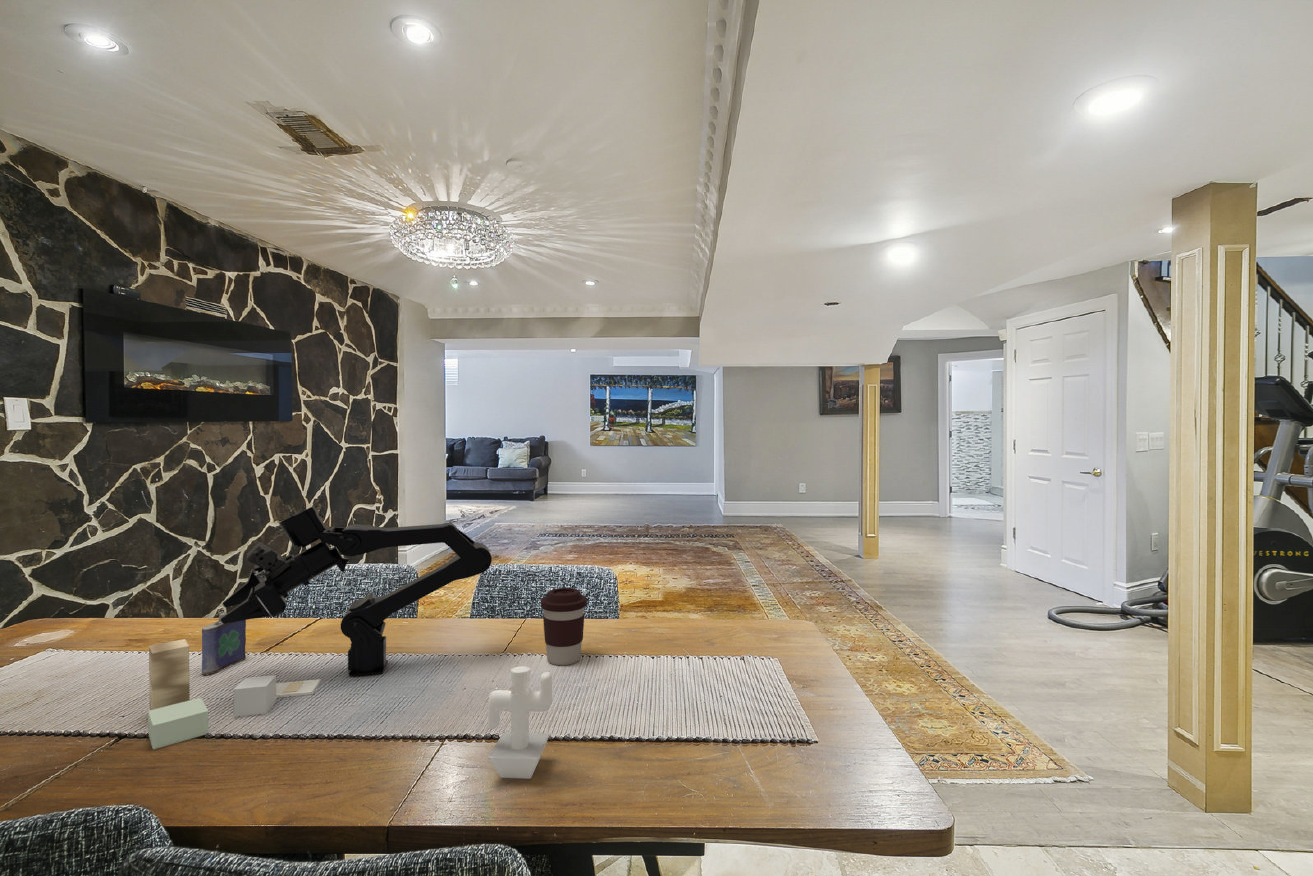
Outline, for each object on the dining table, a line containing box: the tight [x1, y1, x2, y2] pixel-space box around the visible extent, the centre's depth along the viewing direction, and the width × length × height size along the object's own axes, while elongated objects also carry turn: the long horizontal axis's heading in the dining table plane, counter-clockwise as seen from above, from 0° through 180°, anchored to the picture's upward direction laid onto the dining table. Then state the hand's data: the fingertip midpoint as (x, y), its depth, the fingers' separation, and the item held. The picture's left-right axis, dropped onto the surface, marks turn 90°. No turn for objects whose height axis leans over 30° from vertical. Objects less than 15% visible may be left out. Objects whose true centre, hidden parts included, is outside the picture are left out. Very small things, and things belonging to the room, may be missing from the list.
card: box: [276, 678, 322, 699], centre depth 115 cm, size 8×6×1 cm
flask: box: [201, 610, 247, 676], centre depth 127 cm, size 10×3×12 cm, turn 172°
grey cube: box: [233, 674, 277, 718], centre depth 107 cm, size 5×5×5 cm
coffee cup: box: [540, 587, 588, 666], centre depth 130 cm, size 10×10×15 cm
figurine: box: [487, 665, 553, 780], centre depth 88 cm, size 7×9×15 cm
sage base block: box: [147, 697, 209, 750], centre depth 98 cm, size 7×7×4 cm
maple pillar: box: [148, 638, 191, 711], centre depth 105 cm, size 5×5×12 cm
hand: (222, 613), depth 113 cm, fingers open, 9 cm apart
